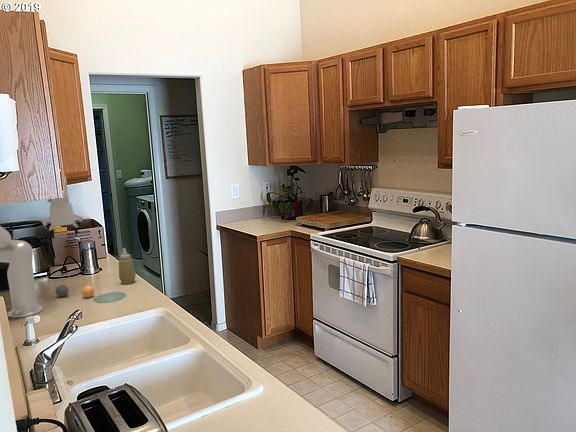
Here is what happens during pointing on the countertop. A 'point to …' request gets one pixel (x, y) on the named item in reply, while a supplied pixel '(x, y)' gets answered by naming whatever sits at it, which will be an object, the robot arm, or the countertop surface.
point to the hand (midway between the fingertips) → (64, 236)
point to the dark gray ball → (62, 290)
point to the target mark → (109, 297)
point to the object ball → (88, 291)
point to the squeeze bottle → (126, 268)
